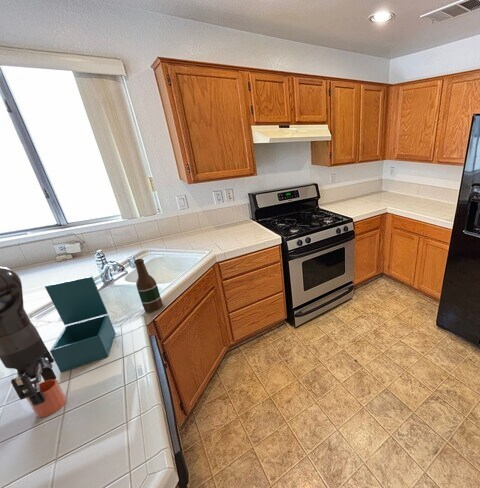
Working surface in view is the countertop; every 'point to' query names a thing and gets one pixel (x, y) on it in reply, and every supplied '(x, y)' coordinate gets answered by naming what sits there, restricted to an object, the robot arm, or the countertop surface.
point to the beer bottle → (147, 288)
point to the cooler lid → (77, 299)
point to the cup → (49, 398)
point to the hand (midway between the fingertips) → (46, 391)
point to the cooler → (83, 343)
